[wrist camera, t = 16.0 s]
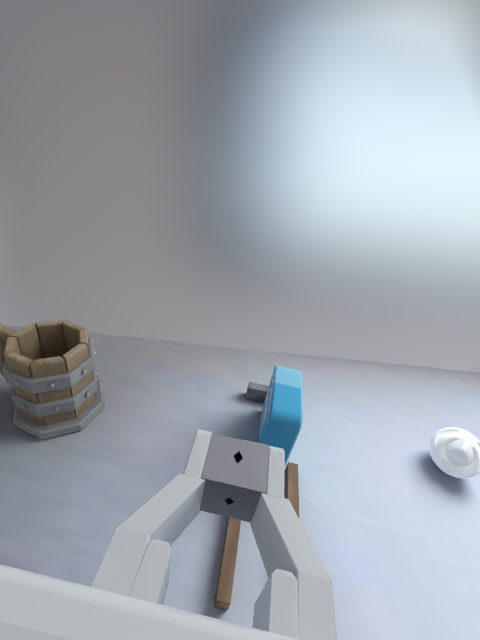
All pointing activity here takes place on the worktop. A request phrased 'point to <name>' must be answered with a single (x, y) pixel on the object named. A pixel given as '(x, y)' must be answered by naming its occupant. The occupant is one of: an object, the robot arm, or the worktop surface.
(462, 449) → the white ball
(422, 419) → the worktop surface
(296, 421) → the data package
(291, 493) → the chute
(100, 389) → the tankard
